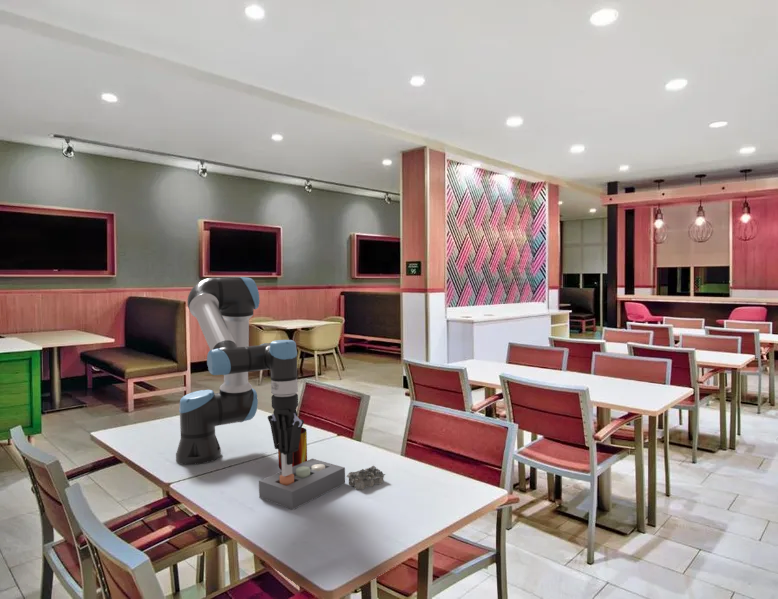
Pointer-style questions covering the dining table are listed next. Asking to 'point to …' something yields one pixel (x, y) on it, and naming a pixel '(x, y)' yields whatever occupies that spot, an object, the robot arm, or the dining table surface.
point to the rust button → (287, 479)
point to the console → (302, 485)
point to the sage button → (303, 472)
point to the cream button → (318, 467)
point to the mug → (301, 454)
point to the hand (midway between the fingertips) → (287, 474)
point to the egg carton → (365, 477)
